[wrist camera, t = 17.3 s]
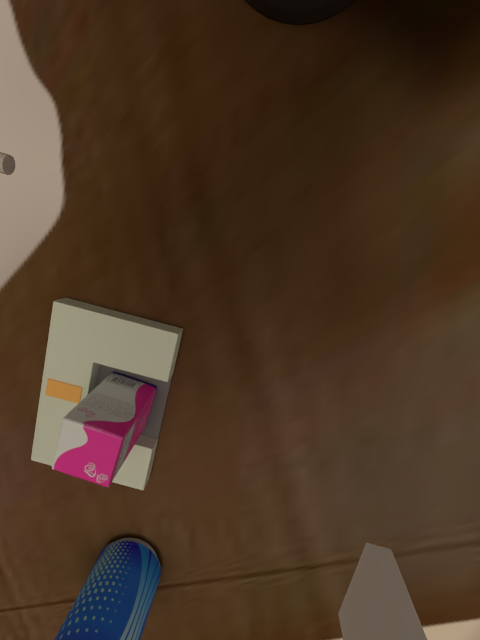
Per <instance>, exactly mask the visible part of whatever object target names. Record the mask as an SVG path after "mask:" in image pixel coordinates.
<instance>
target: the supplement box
mask: <svg viewBox="0 0 480 640" xmlns="http://www.w3.org/2000/svg"><path fill="white" fill-rule="evenodd" d="M156 392H157V386H155V385H153V384H150V383H147V382H144V381H141V380H138V379H135V378H132V377H129V376H126V375H123V374H120V373H117V372H115V371H113V372H112V373H111V374H110V375H108V376H107V377H106V378H105V379H104V380H103V381H102V382H101V383H100V384H99V385H98V386H97V387H96V388H95V389H94V390H93V391H91V392H90V393H89V394H88V395H87V396H86V397H85V398H84V399H83V400H82V401H81V402H80V403H79V404H78V405H77V406H75V407H74V408H73V409H72V410H71V411H70V412H69V413H68V414H67V415H66V416H65V417H64V418H63V421H62V425H61V430H60V435H59V439H58V444H57V448H56V452H55V456H54V461H53V465H52V469H54V470H57V471H60V472H63V473H66V474H69V475H72V476H75V477H78V478H81V479H84V480H87V481H90V482H93V483H96V484H99V485H102V486H105V487H109V485H110V484H111V482H112V481H113V479H114V478H115V476H116V474H117V473H118V471H119V469H120V468H121V466H122V464H123V463H124V461H125V460H126V458H127V456H128V455H129V453H130V451H131V450H132V448H133V446H134V445H135V443H136V442H137V440H138V438H139V437H140V435H141V433H142V432H143V430H144V428H145V427H146V424H147V421H148V418H149V414H150V411H151V408H152V405H153V402H154V399H155V395H156Z"/></svg>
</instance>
